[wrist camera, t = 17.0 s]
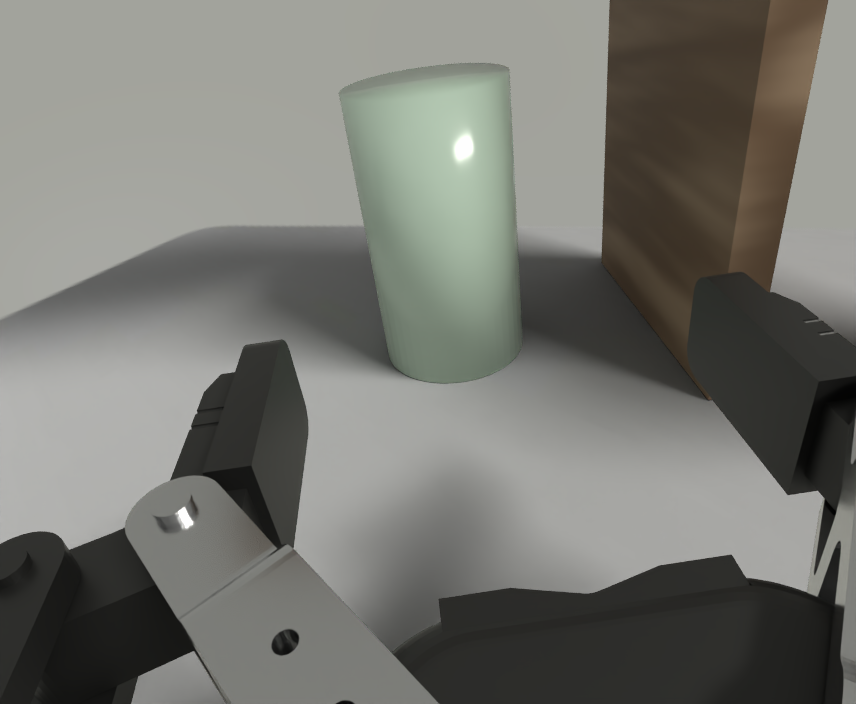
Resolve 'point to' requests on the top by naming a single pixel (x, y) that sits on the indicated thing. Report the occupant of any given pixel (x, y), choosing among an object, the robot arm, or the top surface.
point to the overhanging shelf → (701, 145)
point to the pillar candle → (440, 215)
